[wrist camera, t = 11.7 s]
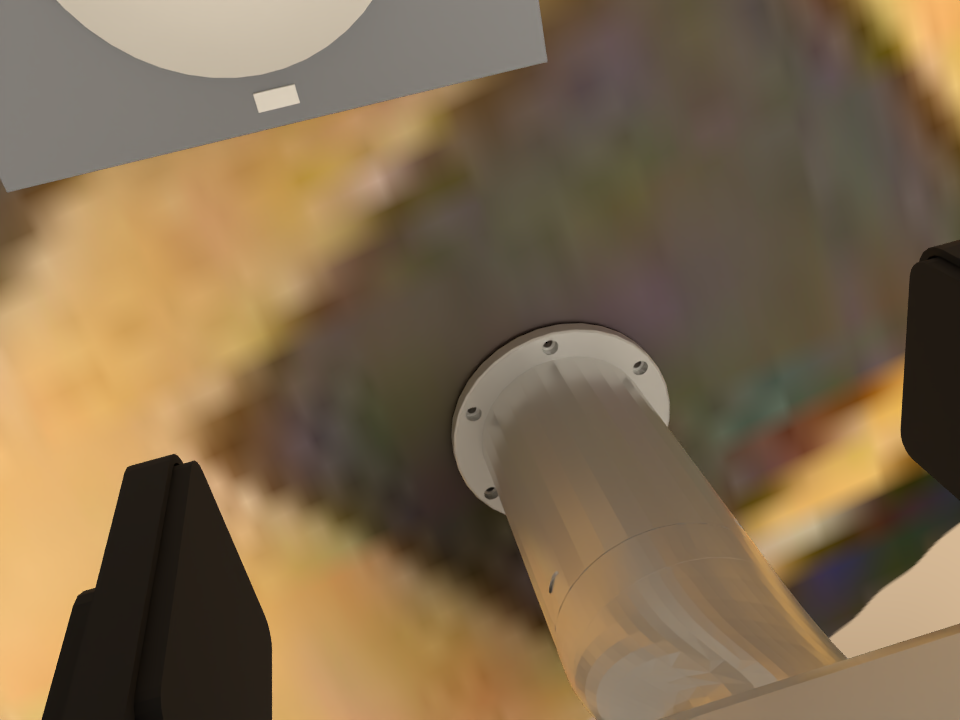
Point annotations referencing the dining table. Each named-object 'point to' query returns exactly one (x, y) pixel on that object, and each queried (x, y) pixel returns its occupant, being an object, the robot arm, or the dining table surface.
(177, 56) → the dial
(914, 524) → the dining table surface
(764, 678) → the robot arm
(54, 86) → the dial board
